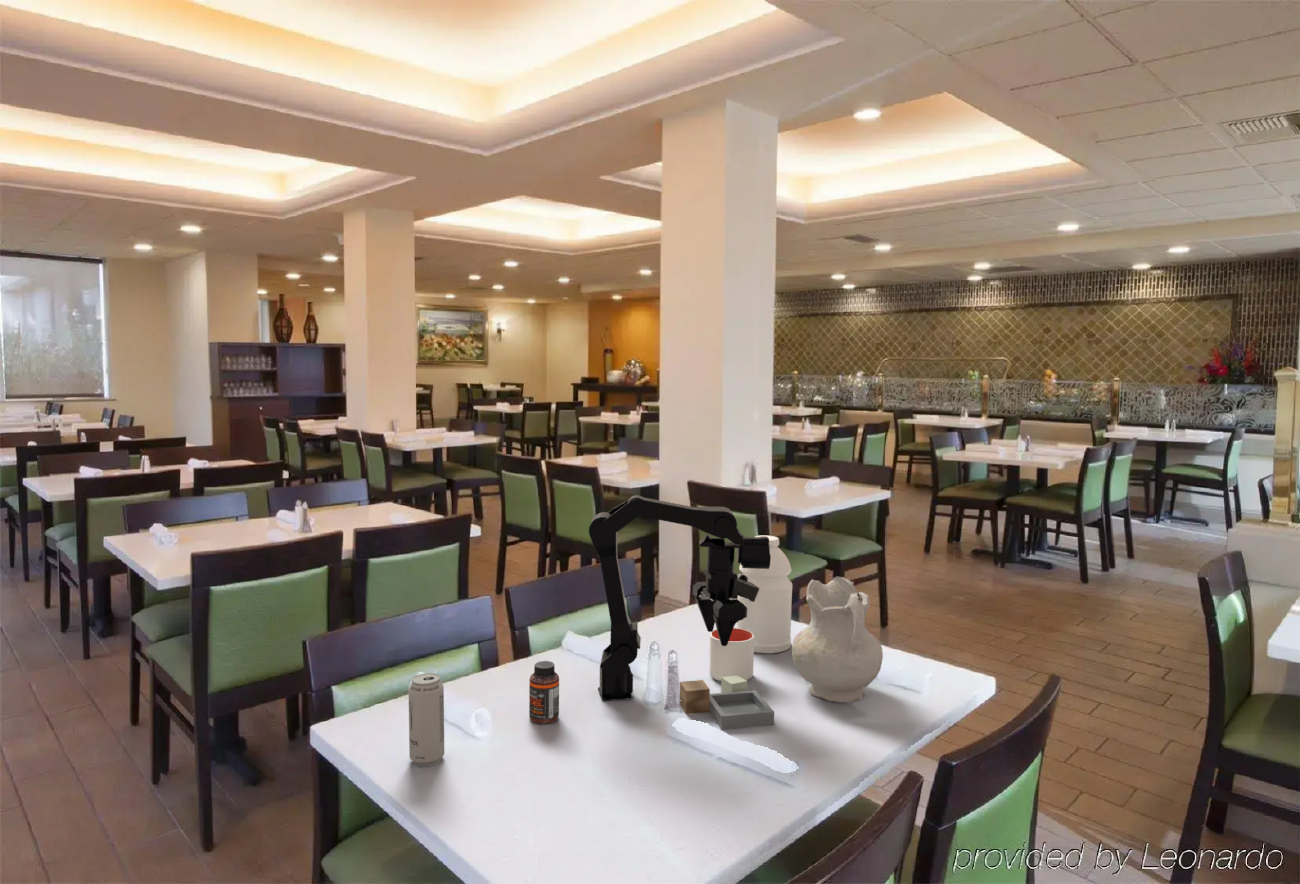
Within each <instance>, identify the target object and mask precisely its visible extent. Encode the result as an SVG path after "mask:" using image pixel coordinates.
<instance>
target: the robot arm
mask: <svg viewBox="0 0 1300 884" xmlns="http://www.w3.org/2000/svg"><path fill="white" fill-rule="evenodd" d="M638 517H642V518H648V519H651V520H653V519H654V520H658V521H663V522H667V523H675V524H678V525H683V526H689V527H692V528H695V529H698V530H699V531H702V532H704V533H705V534H704V537H702V538H701V539H700V540H699V541H698V542H699V544H698V545H699V547H701V548H707V555H706V557H707V558H706V568H705V569H704V568H703V575H705V577H706V579H705V581H696V582H695V584H693V585H692V595H693V596H694V600H695V601H696V604H697V607H698V609H699V612H700V614H701V617H702V620H703V623H704V625H705V627H706V630H707V632H709V633H711V632H712V631H713V630H714V628H716V629H717V632H718V635H719V639H720V642H721V645H722V646H727V644H728V641H729V639H730V636H731V633H732V630H733V628H735V625H737V622H738V621H739V620H743V619H744V618H746V617H747V607H746V606H745V605H744V604H743V603H741V602H740V601H739V600H738V596H741V597H743V598H746V599H749V600H750V601H752V602H754V601H755V599H756V596H757V594H758V591H759V589H760V588H758V587H757V586H756V585H754V584H753V583H751V582H748V578H747V576H746V575H744V574H743V573H742V572H741V573H740V572H739V573H736V572H735V569H734V568H735V549H736V563H737V564H741V565H742V568H754V569H769V567H770V560H771V555H770V548H769V538H768V537H764V536H762V537H755V536H744V534H743V533H742V531H741V530H739V529H738V522H737V519H736V517H735V515H734V514H733V512H732V510H731V509H730V508H728V507H725V506H690V505H684V504H679V503H675V502H669V501H664V500H659V499H654V498H648V497H644V496H641V495H637V494H635V495H632V496H630V498H629V499H627V500H625V501H624V502H622V503H620V504H619V505H617V506H615V507H613V508H612V509H611V510H609V511H606V512H605V511H602V512H599V513H597V514H595V515H594V517H593V518H592V519H591V522H590V525H589V527H588V534H589V537H590V540H591V543H592V546H593V548H594V550H595V553H596V554H597V558H599V562H600V569H601V574H602V580H603V585H604V589H605V597H606V600H607V602H606V603H607V609H608V613H609V619H610V639H609V640H610V644H608V646H606V648H604V649H603V650H602V654H601V655H602V656H601V660H600V664H599V687H597V691H598V693H599V696H600V698H601V701H603V702H607V701H619V700H620V701H621V700H631V699H633V695H632V693H633V692H634V674H633V672H632V670H631V666H630V665H632V663H634V662H635V660H636V659H637V657H638V650H639V649H641V640H642V639H641V636H640V635H639V632H638V629H639V628H638V627H639V626H638V625H639V624H638V623H639V622H638V621H634V622H632V621H631V618H630V617H629V614H628V613H629V612H628V609H627V607H628V606H627V603H626V598H625V591H624V586H623V585H624V584H623V580H622V575H621V569H620V563H619V557H618V535H619V534H618V532H619V531H621V530H622V529H623V528H625V527H626V526H627V525H629V524H630V523H631V522H632V521H634V520H635V519H636V518H638ZM710 535H711V536H710ZM712 536H714V537H712ZM725 539H727V540H728V541H729V542H728V541H725Z"/></svg>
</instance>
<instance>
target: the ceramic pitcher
mask: <svg viewBox="0 0 1300 884" xmlns="http://www.w3.org/2000/svg"><path fill="white" fill-rule="evenodd" d="M854 583H855V582H854V581H850V580H849V579H847V578H845V576H843V577H842V576H836V575H835V577H832V580H830V581H829V582H828V583H827V584H824V583H822V582H821V581H820V580H815V579H811V580H810V581H809V582H808V584H807V587H806V591H805V592H806V602H807V604H808V607H809V611H810V622H809V624H808V626H806V627H805V628H804V629H802V630H800V631H799V632H798V633H797V634H796V635H795V636H794V638H793V640H792V644H791V652H792V653H791V654H792V658H793V664H794V665H795V668H796V671H797V672H798V674H799V675H800V676H801V677H802V678H803V679H804V680H805V681H806V682H808V683H809V684H811V685H810V686H809V689H808V690H809V694H810V695H811V696H812V697H813V696H814V697H816V698H818V699H819V698H820V699H823V700H824V701H829V702H832V703H836V704H842V703H843V704H844V703H857V702H859V701H860V700H861V699H863V698H864V697H865V696H866V694H865V692H864V691H863V688H867V687H868V686H870V684H871V683H873V681H874V680H875V679H876V678H877V677H878V675H879V673H880V671H881V669H882V663H883V658H884V657H883V656H884V655H883V648H882V644H881V642H880V641H879V640H878V638H877V637H876V636H875V635H873V634H871V633H870V632H869V631H868V629H867V628H866V625H865V619H866V615H867V613H868V610H869V608H870V605H871V599H870V596H869V594H867V593H865V592H862V591H857V588H856V587H855V585H854Z"/></svg>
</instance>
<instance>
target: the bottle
mask: <svg viewBox="0 0 1300 884" xmlns="http://www.w3.org/2000/svg"><path fill="white" fill-rule="evenodd" d="M762 536H764V537H768V538H769V548H770V555H771V560H770V567H769V569H754V568H742V565H741V563H739V564H740V565H739V568H738V570H739V571H740V572H741V574H744V575H746V576H747V578H748V582H751V583H753V584H754V585H756V586H757V587H758V588H760V589H759V591H758V594H757V596H756V599H755V601H754V602H752V601H750V600H749V599H746V598H743V597H741V596H738V598H737V599H738V600H739V601H740V602H741V603H743V604H744V605H745V606H746V607H747V617H746V618H744V619H743V620H739V621H738V622H737V623H736V628H739V629H744V630H747V631H749V632H751V633H752V634H753V635H754V653H759V654H775V653H776V654H777V653H782V652H785V651H787V650H788V649H790V648H791V645H792V644H791V642H792V635H791V633H792V631H791V630H792V629H791V628H792V600H793V598H792V597H793V583H792V581H791V580H790V579H789V577H788V576H789V575H790V574H791V573H792V567H791V564H790V563H791V562H790V560H789V559H788V557H787V555H786V554H785V552H784V551H782V549H781V548H779V547H778V546H780V538H779V537H777V536H773V535H760V534H759V535H755V536H754V537H762Z"/></svg>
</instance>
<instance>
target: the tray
mask: <svg viewBox="0 0 1300 884" xmlns="http://www.w3.org/2000/svg"><path fill="white" fill-rule="evenodd" d="M708 713H709V714H710V716H712V719H714V721H715V722H716V724H717V725H718V726H719V728H720V729H721V730H725V729H726V730H727V729H736V728H737V729H738V728H747V727H759V726H760V727H761V726H771V725H775V711H774V709H773V708H772V707H771V706H770V705H769V704H768V702H766V701H765V699H764V698H763V697H762V696H761V695H760V694H759V692H757V690H755V689H753V690H747V691H738V692H726V693H721V692H716V693H710V703H709V712H708Z"/></svg>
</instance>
